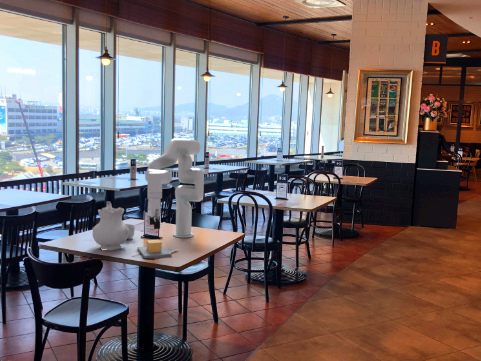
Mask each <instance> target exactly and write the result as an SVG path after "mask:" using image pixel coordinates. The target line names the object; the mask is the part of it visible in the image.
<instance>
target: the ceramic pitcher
mask: <svg viewBox="0 0 481 361" xmlns="http://www.w3.org/2000/svg"><path fill="white" fill-rule="evenodd" d="M105 203H106V206H105V207H102V208H101V209H98V210H97V212H98V214H99V219H100V220H99V222H98V223H97V224H96V225H95V226H93V228H92V238H93V240H94V241H95V243H96V244H97V245H100V246H99V249H100V248H102V249H107V250H111V251H114V250H119V248H120V249H122V244H124V243H125V242H126V241H127V240H126V239H127V238H128V235H129V228H128V227H127V225H125V224H126V223H124V222H123V219H122V218H123V214H124V212H125V209H124V208H122V207H118V208H115V207H113V206H112V203H111V201H106V202H105Z"/></svg>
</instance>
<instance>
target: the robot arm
mask: <svg viewBox="0 0 481 361" xmlns="http://www.w3.org/2000/svg"><path fill="white" fill-rule="evenodd" d="M200 151H201V143H200V142H199V141H198V140H197V139H196V140H195V139H190V138H189V139H188V138H172V139H171V140H170V141H169V142H168V144H167V146H166V148H165V150H164V152H163V154H162V155H161V156H159V157H156V159H154V160H153V161H151V162H150V164H149V165H148V166H147V169H146V170H145V175H144V179H145V181H146V182H147V200H148V201H147V214H148V216H149V226H153V229H154V230H160V229H161V214H162V205H161V199H162V198H163V185H168V184H169V183H170V182H171V181H172V179H173V175H172V173H171V171H169V170H167V169H165V168H169V167H172V166H174V165H176V163H177V162H178V164H177V165H178V167H177V168H178V169H177V181H179V183H181V184H180V185H178V186H176V187H175V191H174V196H175V203H176V204H175V205H176V207H175V209H176V210H175V232H173V237H175V238H180V239H181V238H182V239H183V238H184V239H186V238H191V237H194V235H195V234H194V233H193V232H192V216H193V215H192V214H193V212H192V209H193V208H192V207H193V206H192V205H191V203H190V202H197V203H198V202H201V201H202V200H203V199H204V192H205V191H204V190H205V188H204V187H205V186H204V185H205V183H204V182H205V174H204V171H203V169H201V168H194V167H193V158H192V157H191V155H194V156H195V155H198V154H199V153H200ZM186 184H188V185H186ZM189 184H193V185H189Z"/></svg>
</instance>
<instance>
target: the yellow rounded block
mask: <svg viewBox="0 0 481 361" xmlns="http://www.w3.org/2000/svg"><path fill="white" fill-rule="evenodd" d="M162 244H163V243H162V241H161V240H160V239H148V240H146V247H147V250H148V251H149V253H150V252H162Z"/></svg>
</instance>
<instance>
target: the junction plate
mask: <svg viewBox="0 0 481 361" xmlns="http://www.w3.org/2000/svg"><path fill="white" fill-rule="evenodd" d="M136 249H137V252H138V253H139V252H140V253H141V254H140V253H139V254H140V255H141V256H142V257H143V259H144V258H150V259H159V257H161V258H171V257H172V253H171V252H170V251H169V250H168V249H167V248H166V247H165V246H164V245H162V252H150V253H149V251H148V250H147V246H139V247H137V248H136ZM153 257H154V258H153Z"/></svg>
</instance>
